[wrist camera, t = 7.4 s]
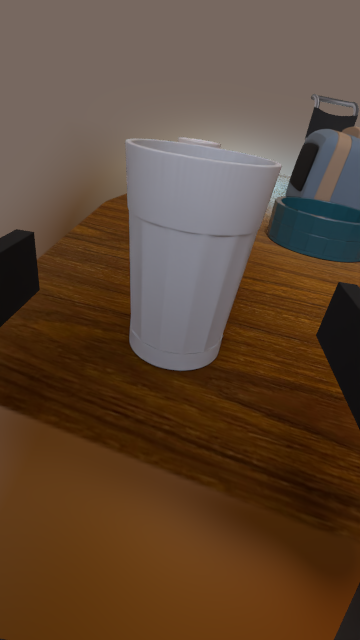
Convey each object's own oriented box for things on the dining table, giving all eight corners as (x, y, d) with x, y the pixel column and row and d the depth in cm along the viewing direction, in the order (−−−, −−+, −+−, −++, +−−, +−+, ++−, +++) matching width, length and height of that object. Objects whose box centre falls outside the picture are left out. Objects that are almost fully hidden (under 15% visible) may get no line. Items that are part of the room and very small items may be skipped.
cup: (122, 383, 19) (136, 151, 13) (113, 311, 25) (118, 134, 19) (249, 375, 21) (313, 173, 15) (210, 311, 28) (244, 151, 21)
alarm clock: (281, 201, 75) (304, 120, 67) (352, 212, 75) (384, 132, 67) (294, 218, 61) (325, 119, 53) (382, 233, 61) (427, 135, 53)
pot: (274, 251, 43) (285, 213, 41) (261, 222, 56) (269, 191, 53) (385, 269, 43) (403, 231, 41) (347, 236, 56) (359, 205, 53)
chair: (320, 192, 96) (351, 102, 84) (363, 208, 82) (407, 103, 71) (282, 188, 92) (309, 93, 80) (321, 204, 78) (359, 93, 67)
